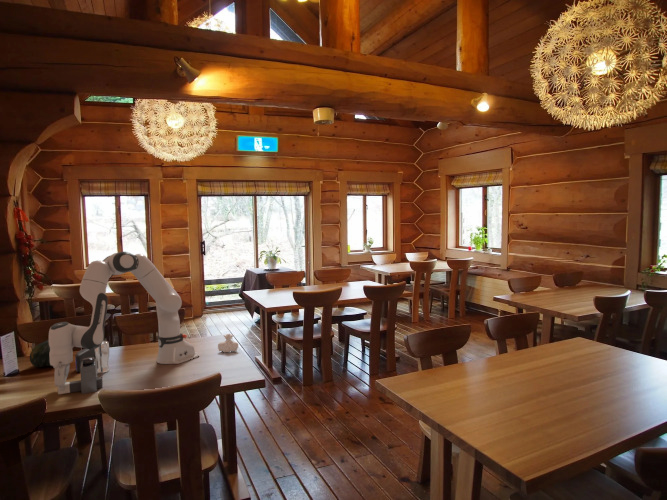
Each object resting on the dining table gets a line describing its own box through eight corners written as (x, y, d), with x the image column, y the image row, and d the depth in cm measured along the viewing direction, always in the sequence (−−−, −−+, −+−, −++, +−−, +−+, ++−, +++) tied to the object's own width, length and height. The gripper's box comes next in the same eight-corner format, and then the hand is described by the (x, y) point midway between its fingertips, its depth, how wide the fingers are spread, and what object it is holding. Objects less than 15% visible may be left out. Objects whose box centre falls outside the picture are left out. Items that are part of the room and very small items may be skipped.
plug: (102, 385, 203) (102, 376, 202) (102, 387, 200) (102, 379, 200) (58, 392, 195) (58, 383, 194) (58, 394, 192) (57, 385, 192)
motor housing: (97, 383, 205) (96, 354, 204) (96, 391, 195) (95, 361, 194) (83, 385, 203) (81, 356, 202) (81, 393, 193) (79, 363, 192)
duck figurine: (238, 354, 254) (240, 336, 260) (236, 350, 247) (238, 331, 254) (218, 355, 253) (220, 337, 260) (215, 350, 247) (218, 332, 253)
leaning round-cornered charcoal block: (87, 362, 235) (86, 346, 234) (96, 362, 235) (95, 345, 234) (70, 373, 219) (69, 355, 218) (79, 373, 219) (79, 355, 218)
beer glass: (103, 374, 217) (102, 345, 216) (91, 373, 219) (90, 344, 218) (113, 369, 224) (112, 341, 223) (101, 368, 226) (100, 340, 224)
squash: (26, 354, 232) (30, 337, 225) (58, 349, 243) (63, 333, 236) (31, 376, 225) (35, 360, 218) (63, 370, 236) (68, 354, 229)
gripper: (67, 364, 185) (68, 396, 186) (71, 351, 204) (73, 380, 204) (49, 367, 182) (51, 398, 183) (56, 353, 201) (57, 382, 202)
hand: (62, 388), depth 194 cm, fingers closed on plug, 3 cm apart
